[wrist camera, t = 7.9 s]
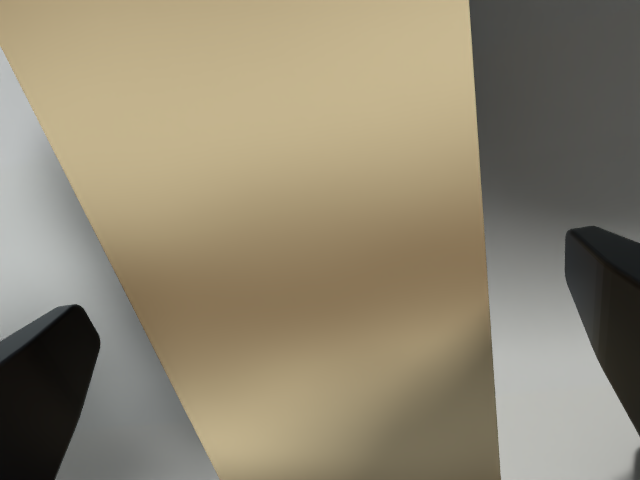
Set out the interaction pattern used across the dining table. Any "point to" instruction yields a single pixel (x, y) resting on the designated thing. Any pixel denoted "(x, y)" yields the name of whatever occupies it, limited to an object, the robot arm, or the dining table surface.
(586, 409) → the dining table surface
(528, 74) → the dining table surface
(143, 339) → the dining table surface
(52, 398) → the robot arm
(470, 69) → the oak plank
